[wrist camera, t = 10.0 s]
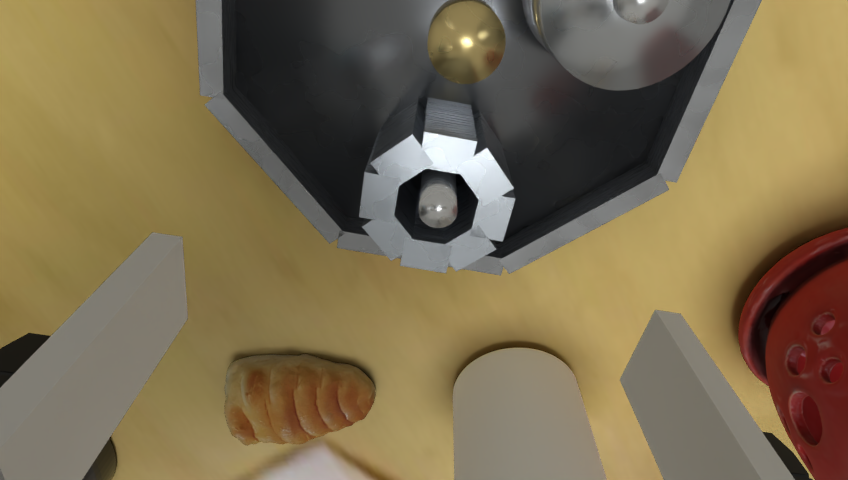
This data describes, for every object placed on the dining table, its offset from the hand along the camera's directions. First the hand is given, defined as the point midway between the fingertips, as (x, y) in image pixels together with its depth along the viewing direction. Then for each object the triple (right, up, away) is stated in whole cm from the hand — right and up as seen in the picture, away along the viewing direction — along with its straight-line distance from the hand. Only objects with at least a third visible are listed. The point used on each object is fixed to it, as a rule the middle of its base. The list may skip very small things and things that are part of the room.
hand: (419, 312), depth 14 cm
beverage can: (+6, -8, +20) cm, 22 cm away
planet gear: (+1, +6, +10) cm, 12 cm away
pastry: (-8, -7, +20) cm, 23 cm away
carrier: (+2, +11, +8) cm, 14 cm away
